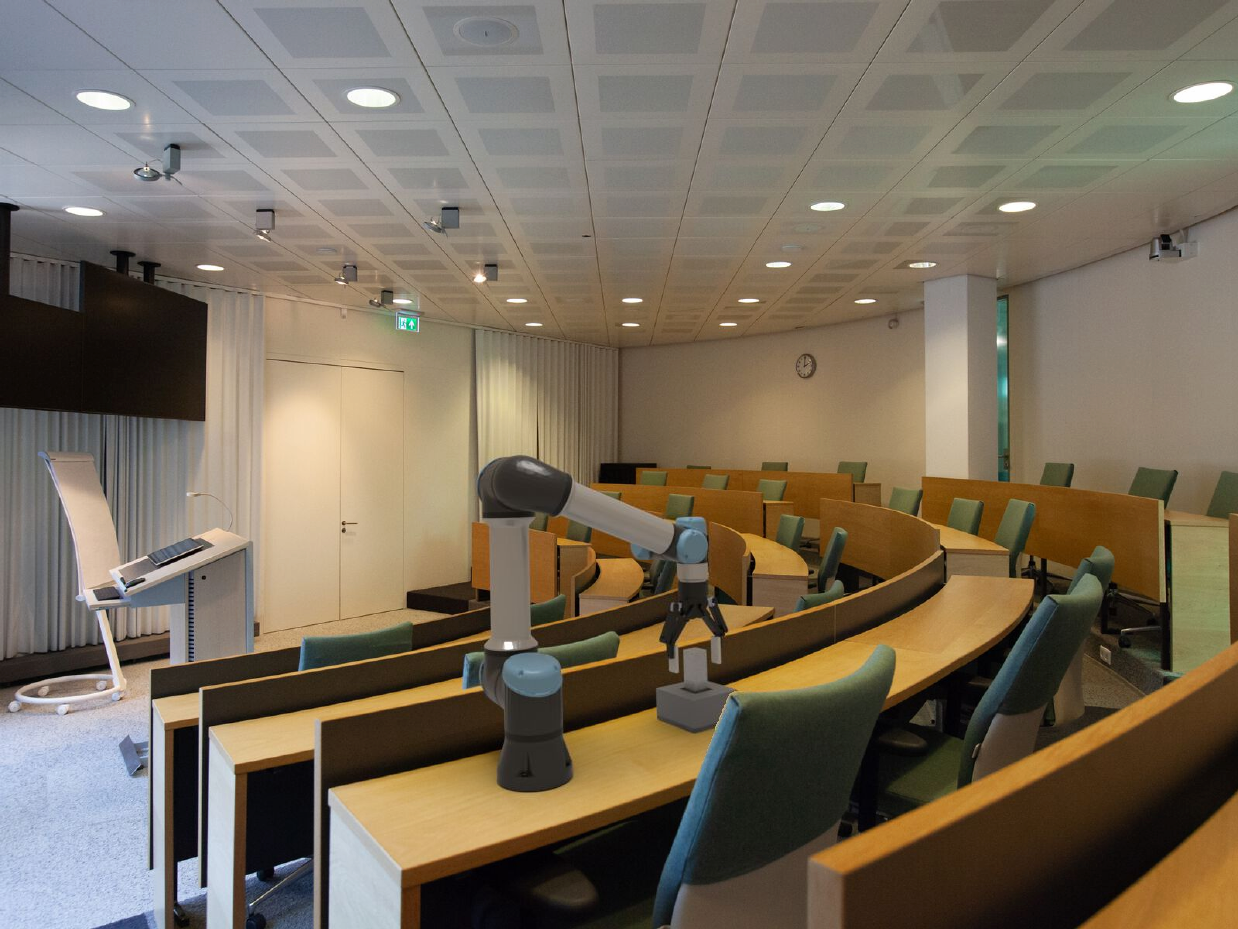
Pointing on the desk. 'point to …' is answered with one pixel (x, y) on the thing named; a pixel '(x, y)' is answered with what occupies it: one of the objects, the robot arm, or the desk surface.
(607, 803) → the desk surface
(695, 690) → the grey metal bar
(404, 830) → the desk surface
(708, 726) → the slate well
